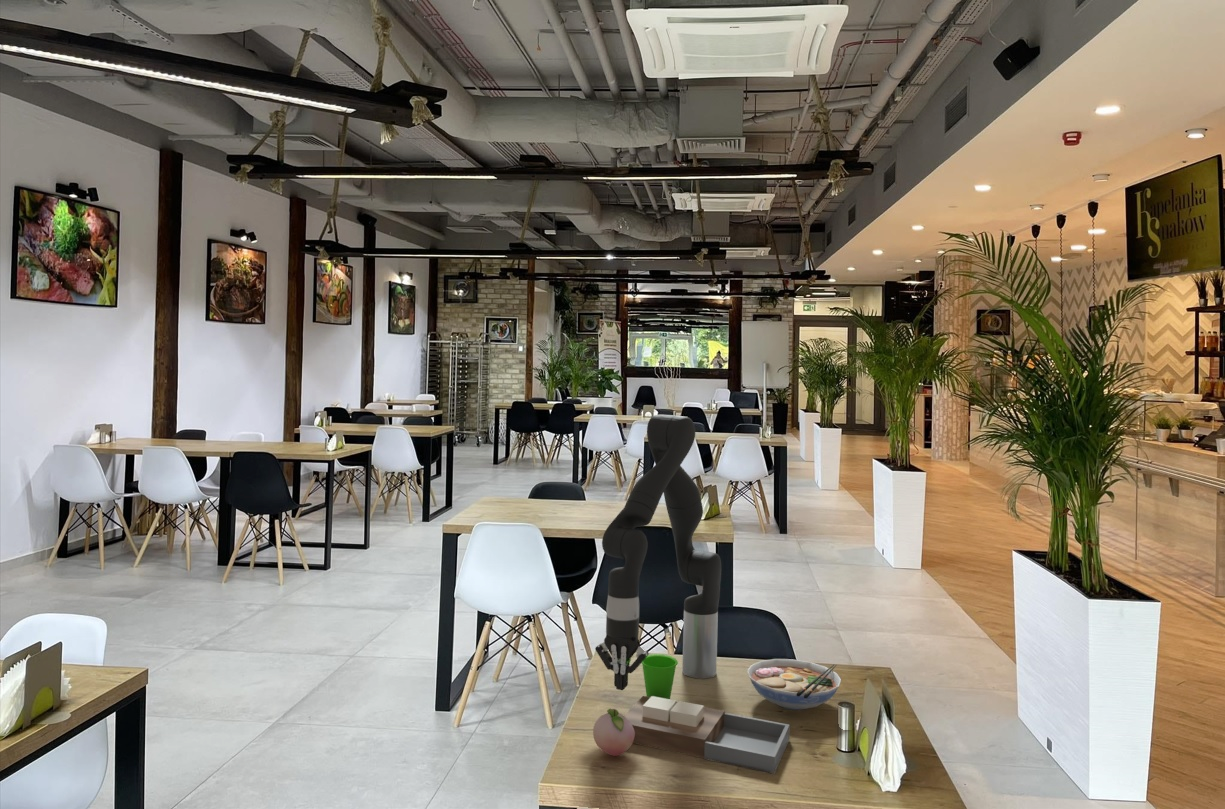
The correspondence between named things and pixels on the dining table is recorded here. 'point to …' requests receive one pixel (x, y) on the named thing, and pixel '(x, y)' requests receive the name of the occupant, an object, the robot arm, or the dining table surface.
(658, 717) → the tile
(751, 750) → the box
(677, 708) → the tile
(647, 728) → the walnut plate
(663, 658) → the cup
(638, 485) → the robot arm
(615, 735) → the decorative fruit
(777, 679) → the ramen bowl
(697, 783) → the dining table surface
